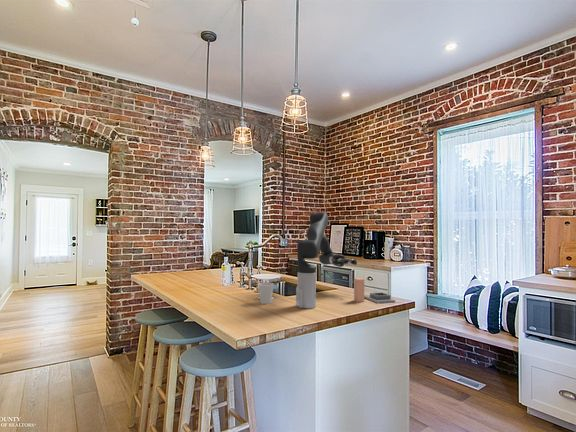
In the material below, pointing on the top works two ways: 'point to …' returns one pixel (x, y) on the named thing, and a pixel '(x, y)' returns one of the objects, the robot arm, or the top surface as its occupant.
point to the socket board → (379, 298)
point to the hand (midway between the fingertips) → (349, 263)
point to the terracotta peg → (358, 289)
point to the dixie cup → (265, 292)
